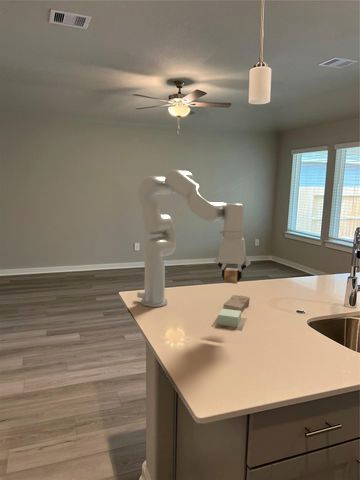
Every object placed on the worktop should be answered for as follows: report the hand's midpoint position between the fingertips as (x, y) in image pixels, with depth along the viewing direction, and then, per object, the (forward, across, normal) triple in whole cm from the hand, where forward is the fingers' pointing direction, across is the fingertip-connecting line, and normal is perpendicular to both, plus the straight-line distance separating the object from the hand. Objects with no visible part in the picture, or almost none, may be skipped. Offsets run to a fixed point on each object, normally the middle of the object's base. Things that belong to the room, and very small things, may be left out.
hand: (231, 279), depth 145 cm
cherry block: (+1, 0, 0) cm, 1 cm away
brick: (+20, -1, +20) cm, 28 cm away
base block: (+18, 0, 0) cm, 18 cm away
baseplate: (+19, 0, 0) cm, 19 cm away
